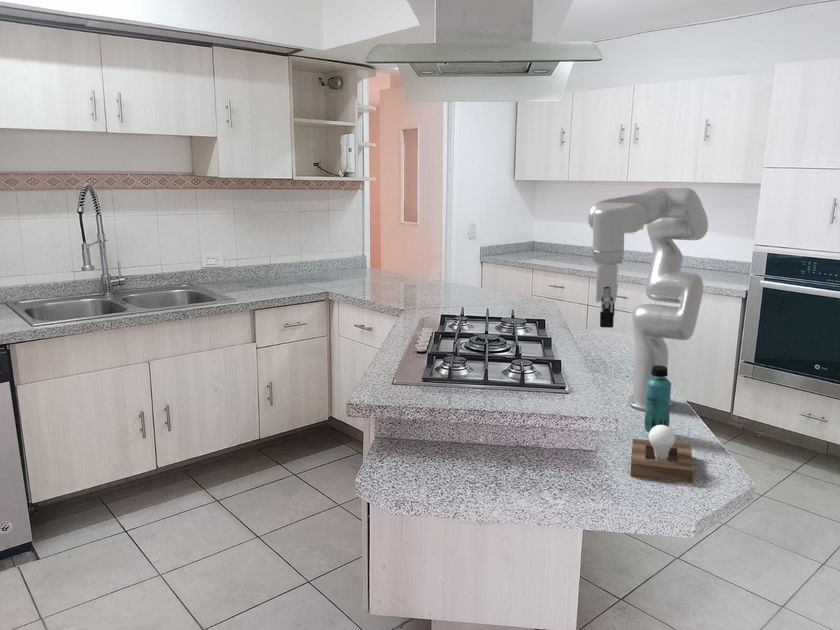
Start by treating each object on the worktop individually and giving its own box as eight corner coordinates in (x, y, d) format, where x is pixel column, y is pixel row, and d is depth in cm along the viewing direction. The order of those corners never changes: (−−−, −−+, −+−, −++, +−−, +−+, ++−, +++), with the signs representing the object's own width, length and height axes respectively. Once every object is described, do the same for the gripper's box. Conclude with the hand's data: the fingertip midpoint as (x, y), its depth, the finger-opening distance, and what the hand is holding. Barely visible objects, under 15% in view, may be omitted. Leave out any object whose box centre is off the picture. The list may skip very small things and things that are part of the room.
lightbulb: (675, 462, 160) (677, 422, 157) (672, 474, 155) (673, 433, 152) (650, 458, 163) (651, 419, 160) (646, 469, 158) (646, 429, 155)
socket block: (632, 450, 168) (632, 438, 167) (689, 456, 163) (690, 444, 162) (630, 476, 155) (630, 463, 154) (692, 483, 150) (693, 470, 149)
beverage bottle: (648, 428, 180) (651, 361, 175) (672, 433, 176) (676, 365, 171) (640, 436, 175) (642, 368, 170) (664, 442, 171) (667, 372, 166)
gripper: (594, 250, 169) (594, 312, 174) (590, 263, 153) (590, 331, 158) (624, 250, 167) (622, 313, 171) (623, 263, 151) (622, 332, 156)
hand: (607, 321), depth 165 cm, fingers open, 9 cm apart
